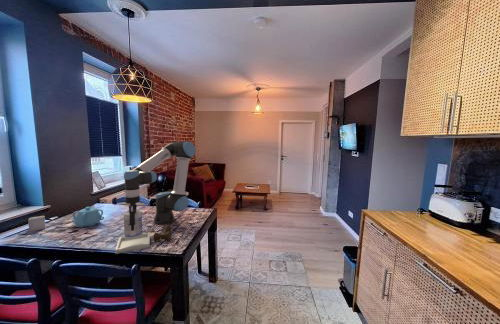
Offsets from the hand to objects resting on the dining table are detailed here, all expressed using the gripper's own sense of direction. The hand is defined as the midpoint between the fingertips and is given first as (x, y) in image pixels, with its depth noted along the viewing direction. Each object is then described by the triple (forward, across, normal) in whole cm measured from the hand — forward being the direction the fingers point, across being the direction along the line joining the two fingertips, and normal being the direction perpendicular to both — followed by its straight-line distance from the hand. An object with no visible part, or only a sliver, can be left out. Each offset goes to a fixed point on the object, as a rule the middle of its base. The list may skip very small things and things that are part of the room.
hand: (133, 231), depth 123 cm
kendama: (+8, -2, +17) cm, 19 cm away
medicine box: (+8, -52, -63) cm, 82 cm away
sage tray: (+8, 0, 0) cm, 8 cm away
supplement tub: (+3, 0, 0) cm, 3 cm away
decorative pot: (+8, -48, -33) cm, 59 cm away
